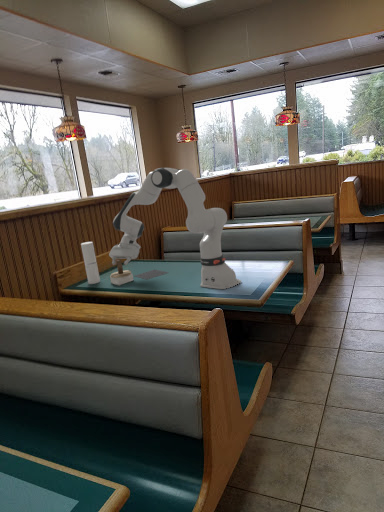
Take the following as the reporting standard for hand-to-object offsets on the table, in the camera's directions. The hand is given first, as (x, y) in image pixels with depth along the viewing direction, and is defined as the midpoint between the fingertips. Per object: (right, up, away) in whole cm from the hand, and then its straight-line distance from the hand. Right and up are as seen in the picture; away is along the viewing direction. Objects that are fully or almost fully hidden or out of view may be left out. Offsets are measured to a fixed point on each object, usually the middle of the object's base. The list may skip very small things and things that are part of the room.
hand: (119, 264), depth 227 cm
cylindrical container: (-17, -12, +11) cm, 24 cm away
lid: (+1, -6, +1) cm, 7 cm away
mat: (+18, -7, +10) cm, 21 cm away
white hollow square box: (+1, -11, +2) cm, 11 cm away
